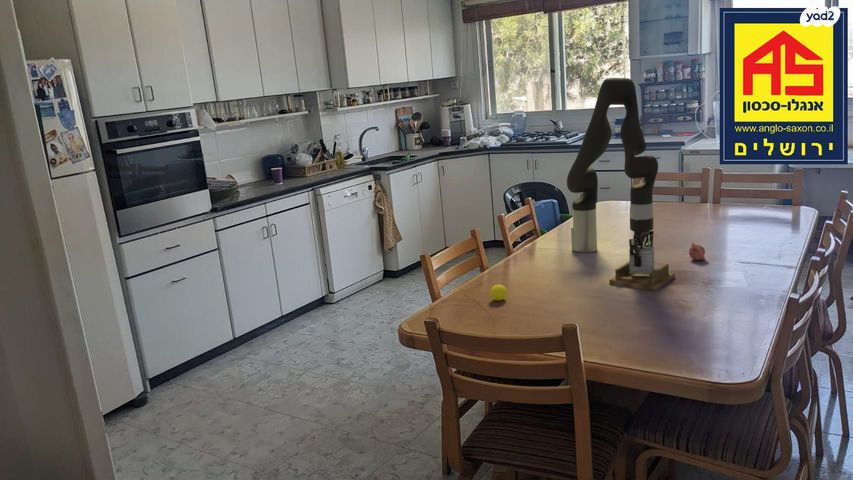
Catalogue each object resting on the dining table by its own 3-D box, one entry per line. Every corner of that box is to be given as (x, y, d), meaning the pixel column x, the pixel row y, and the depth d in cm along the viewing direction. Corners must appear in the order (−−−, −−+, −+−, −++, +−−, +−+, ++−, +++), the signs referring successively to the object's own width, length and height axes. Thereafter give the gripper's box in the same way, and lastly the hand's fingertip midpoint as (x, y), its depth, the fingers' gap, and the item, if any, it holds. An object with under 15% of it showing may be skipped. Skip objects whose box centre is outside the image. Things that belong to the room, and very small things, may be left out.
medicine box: (654, 271, 227) (654, 246, 225) (653, 274, 223) (653, 250, 221) (630, 270, 230) (630, 246, 228) (629, 274, 226) (629, 249, 224)
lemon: (496, 297, 225) (496, 282, 224) (510, 299, 222) (510, 283, 221) (486, 301, 219) (486, 285, 219) (500, 303, 216) (500, 287, 216)
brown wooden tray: (609, 283, 227) (609, 269, 226) (630, 271, 238) (630, 257, 237) (654, 291, 216) (654, 276, 215) (674, 277, 228) (674, 263, 226)
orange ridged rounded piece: (683, 246, 242) (696, 237, 241) (683, 249, 249) (696, 240, 248) (697, 264, 239) (710, 255, 238) (697, 266, 247) (710, 258, 245)
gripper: (640, 210, 229) (640, 257, 233) (621, 219, 219) (621, 268, 223) (661, 212, 224) (661, 260, 228) (642, 221, 214) (643, 271, 218)
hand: (641, 264), depth 226 cm, fingers open, 5 cm apart
